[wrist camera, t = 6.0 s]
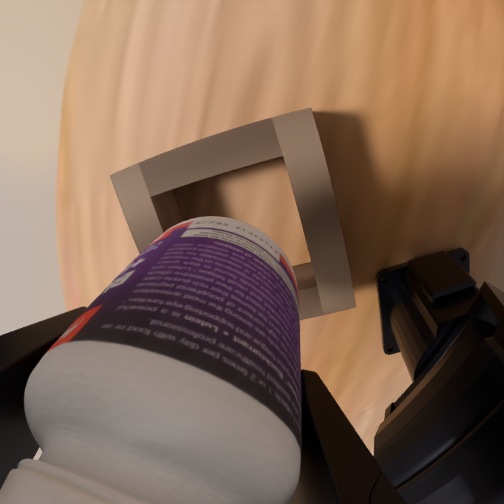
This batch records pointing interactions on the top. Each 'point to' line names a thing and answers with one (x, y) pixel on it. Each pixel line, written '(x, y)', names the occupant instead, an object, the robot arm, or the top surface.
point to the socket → (240, 155)
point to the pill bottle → (174, 381)
